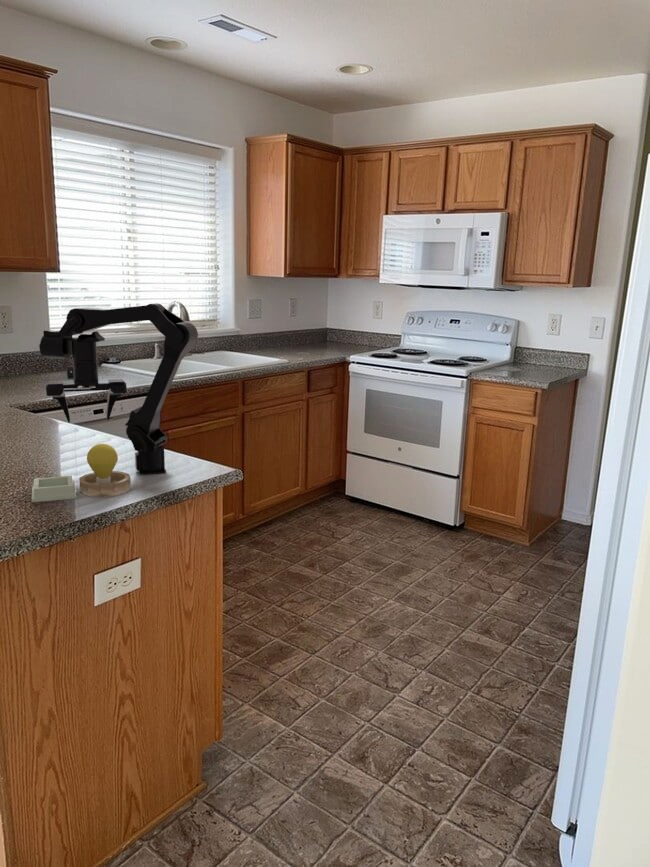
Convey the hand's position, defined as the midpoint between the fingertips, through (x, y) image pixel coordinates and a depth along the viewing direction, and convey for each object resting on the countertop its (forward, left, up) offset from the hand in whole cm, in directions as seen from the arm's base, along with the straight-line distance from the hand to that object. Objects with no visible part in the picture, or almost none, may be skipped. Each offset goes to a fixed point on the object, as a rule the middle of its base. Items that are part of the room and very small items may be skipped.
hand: (88, 421), depth 169 cm
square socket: (+9, +20, -12) cm, 25 cm away
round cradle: (-2, +20, -12) cm, 23 cm away
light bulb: (-2, +20, -11) cm, 23 cm away
